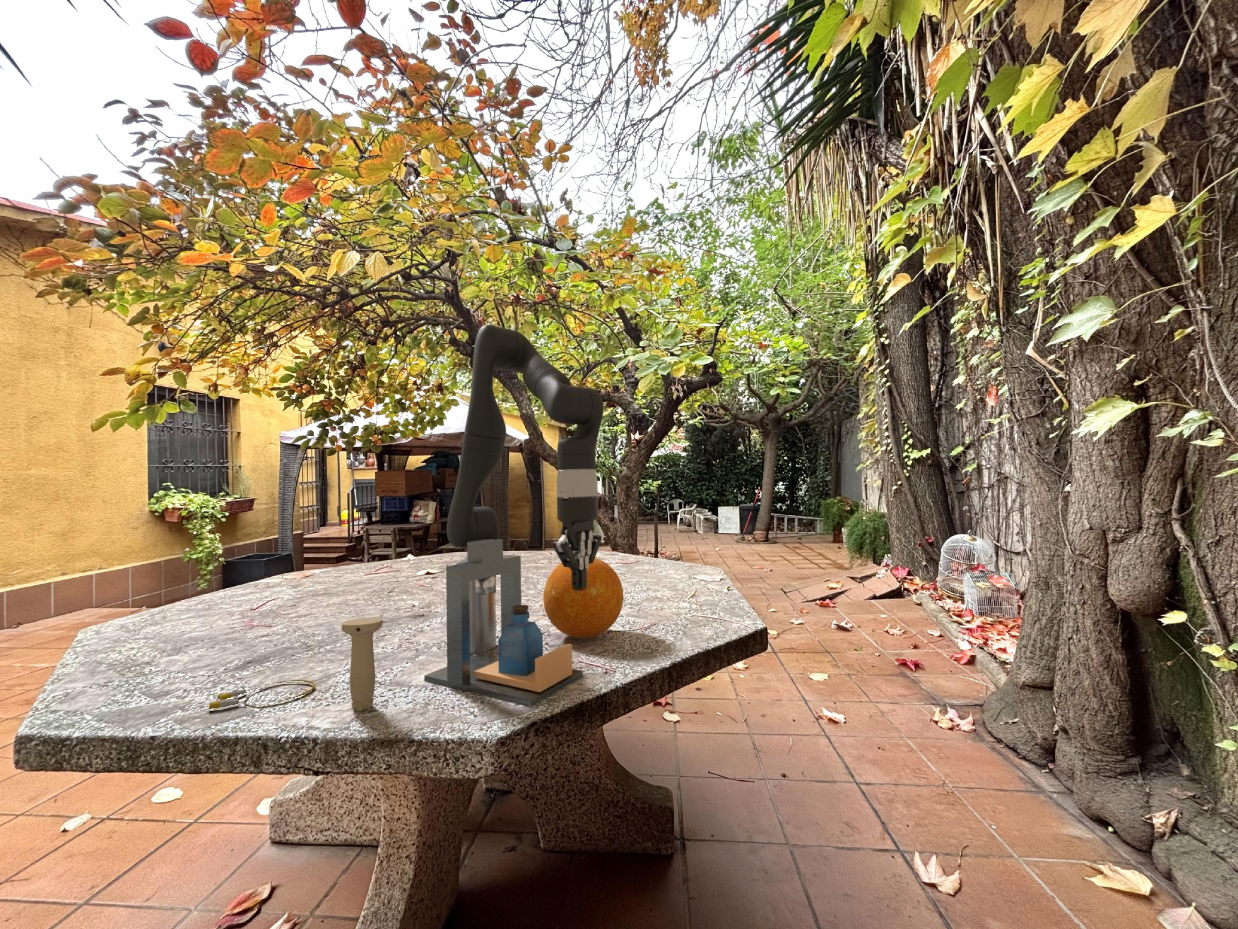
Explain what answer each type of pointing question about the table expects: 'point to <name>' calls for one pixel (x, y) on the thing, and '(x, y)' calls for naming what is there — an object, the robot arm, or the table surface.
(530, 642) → the perfume bottle
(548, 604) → the decorative sphere
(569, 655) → the press bed carriage
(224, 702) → the jump rope
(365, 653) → the handle
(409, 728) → the table surface
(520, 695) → the press frame
